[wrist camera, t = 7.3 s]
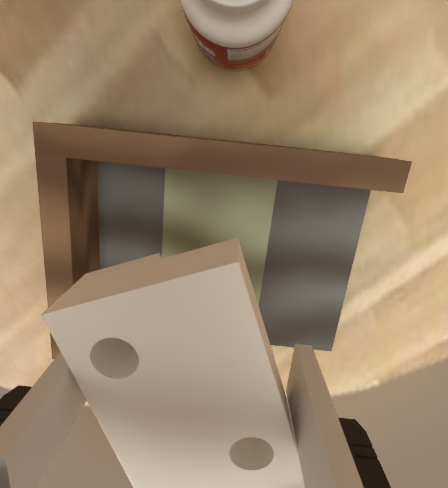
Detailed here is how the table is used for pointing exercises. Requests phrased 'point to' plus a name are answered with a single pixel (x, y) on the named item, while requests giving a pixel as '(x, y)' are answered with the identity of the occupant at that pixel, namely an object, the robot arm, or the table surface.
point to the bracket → (180, 371)
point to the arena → (210, 214)
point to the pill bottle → (235, 29)
